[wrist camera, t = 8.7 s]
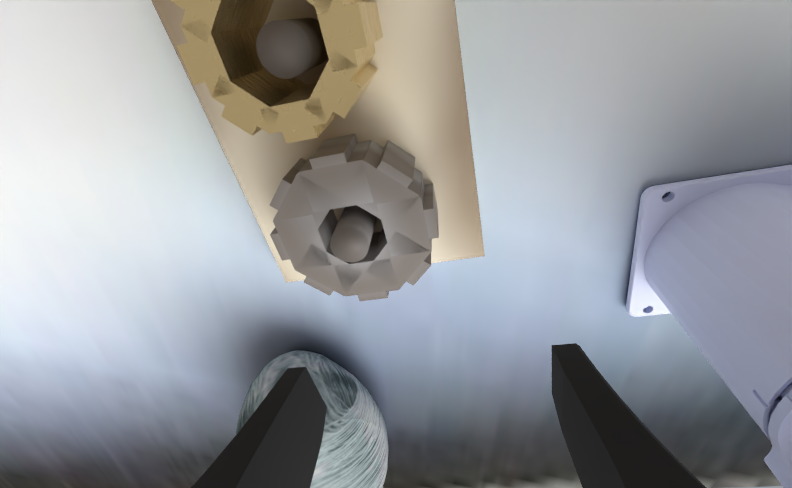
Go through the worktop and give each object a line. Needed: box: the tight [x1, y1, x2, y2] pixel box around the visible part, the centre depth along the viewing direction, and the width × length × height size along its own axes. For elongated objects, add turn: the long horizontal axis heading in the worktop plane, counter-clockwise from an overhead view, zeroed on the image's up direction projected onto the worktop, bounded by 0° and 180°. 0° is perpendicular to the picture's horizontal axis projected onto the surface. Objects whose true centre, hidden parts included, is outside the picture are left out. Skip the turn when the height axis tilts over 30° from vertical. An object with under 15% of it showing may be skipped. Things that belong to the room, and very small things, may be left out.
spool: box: [235, 350, 388, 488], centre depth 25 cm, size 14×10×10 cm
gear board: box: [152, 0, 485, 301], centre depth 15 cm, size 11×14×4 cm
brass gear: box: [171, 0, 383, 143], centre depth 12 cm, size 6×6×4 cm
